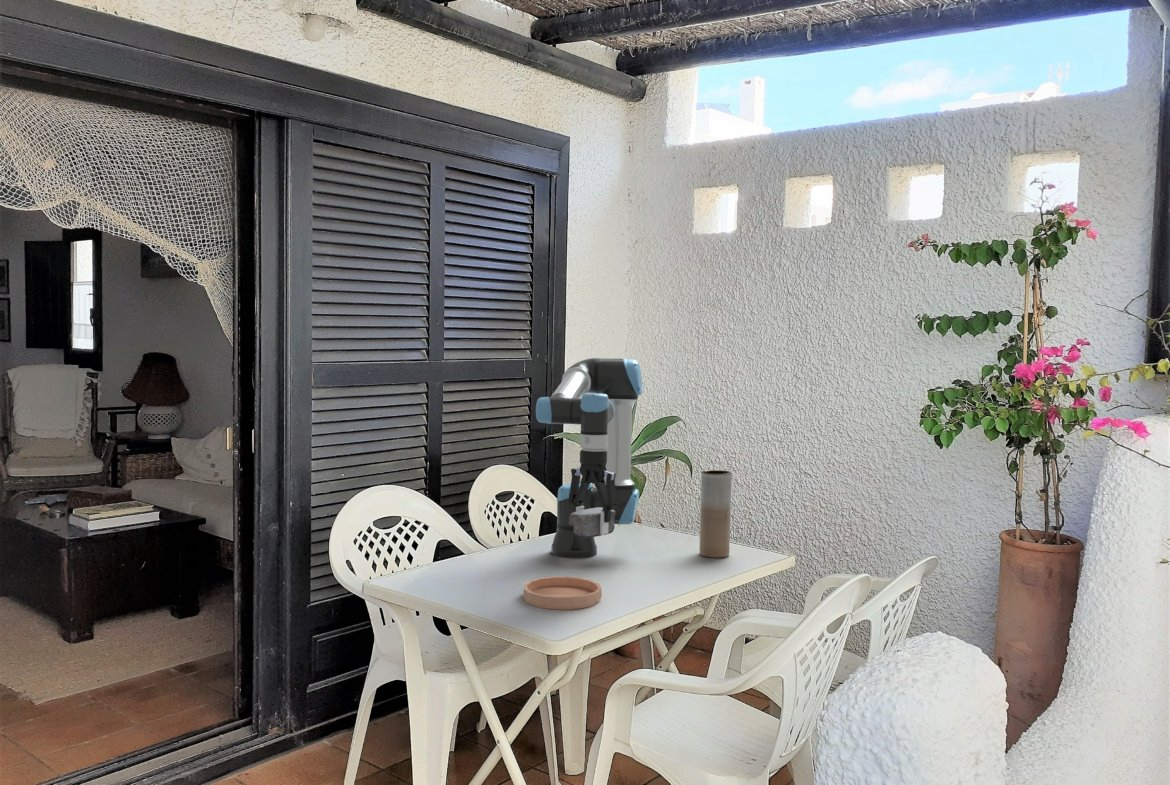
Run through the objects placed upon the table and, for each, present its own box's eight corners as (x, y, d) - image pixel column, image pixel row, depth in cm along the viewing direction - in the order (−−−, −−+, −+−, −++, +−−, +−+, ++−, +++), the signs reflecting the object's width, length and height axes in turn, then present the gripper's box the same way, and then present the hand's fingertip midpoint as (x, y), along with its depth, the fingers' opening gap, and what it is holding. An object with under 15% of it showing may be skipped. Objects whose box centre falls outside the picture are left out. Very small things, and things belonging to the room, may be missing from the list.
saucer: (507, 598, 240) (507, 587, 240) (558, 583, 256) (558, 572, 256) (566, 615, 227) (566, 602, 226) (616, 597, 243) (616, 586, 243)
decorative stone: (619, 532, 250) (587, 527, 254) (621, 507, 249) (589, 503, 253) (598, 542, 236) (565, 537, 241) (599, 517, 236) (566, 512, 240)
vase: (734, 557, 292) (736, 473, 290) (705, 558, 289) (708, 474, 288) (722, 550, 301) (724, 469, 300) (694, 551, 299) (697, 470, 297)
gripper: (556, 447, 247) (554, 528, 248) (616, 453, 234) (614, 539, 235) (572, 445, 253) (571, 524, 254) (632, 451, 240) (630, 535, 241)
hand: (591, 531), depth 245 cm, fingers closed on decorative stone, 8 cm apart
